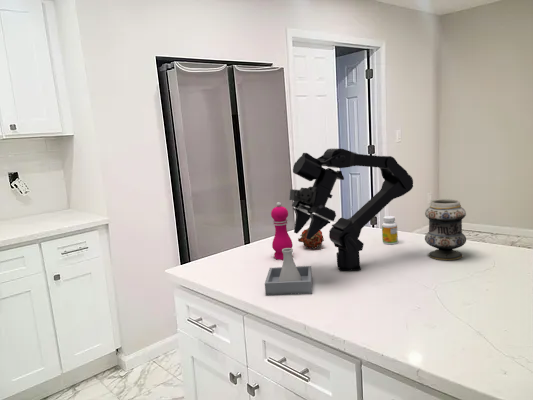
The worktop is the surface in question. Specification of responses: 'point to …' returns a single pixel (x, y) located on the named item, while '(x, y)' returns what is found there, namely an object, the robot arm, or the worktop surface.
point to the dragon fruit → (312, 242)
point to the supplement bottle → (389, 230)
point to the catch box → (289, 282)
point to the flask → (289, 267)
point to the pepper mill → (280, 231)
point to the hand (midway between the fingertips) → (301, 235)
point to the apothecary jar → (445, 228)
